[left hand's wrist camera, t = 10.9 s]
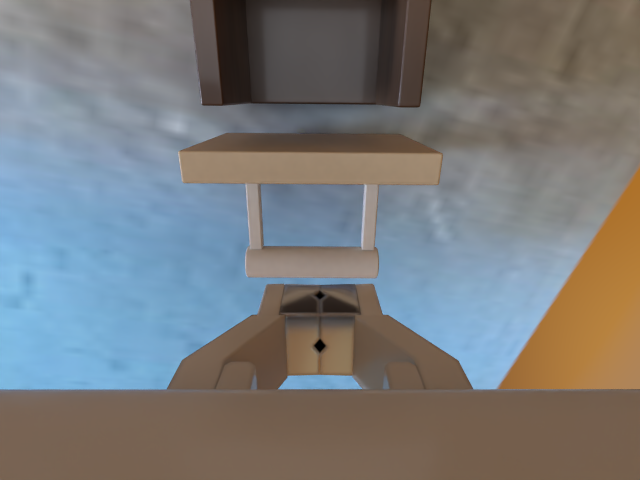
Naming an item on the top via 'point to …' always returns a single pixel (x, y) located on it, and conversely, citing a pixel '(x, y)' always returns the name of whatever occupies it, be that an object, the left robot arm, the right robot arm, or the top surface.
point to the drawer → (311, 88)
